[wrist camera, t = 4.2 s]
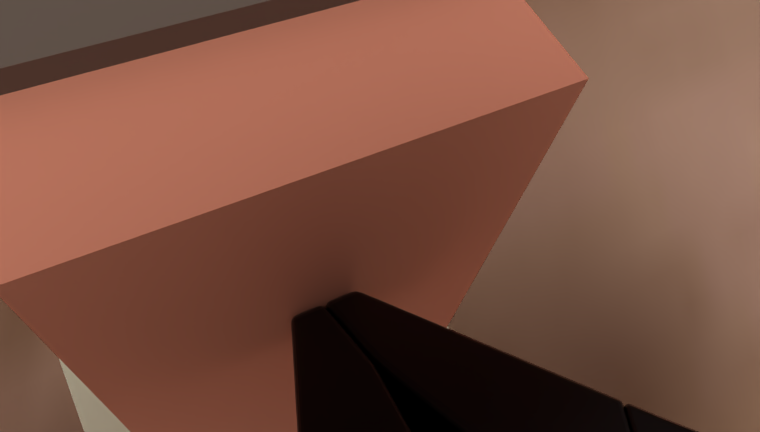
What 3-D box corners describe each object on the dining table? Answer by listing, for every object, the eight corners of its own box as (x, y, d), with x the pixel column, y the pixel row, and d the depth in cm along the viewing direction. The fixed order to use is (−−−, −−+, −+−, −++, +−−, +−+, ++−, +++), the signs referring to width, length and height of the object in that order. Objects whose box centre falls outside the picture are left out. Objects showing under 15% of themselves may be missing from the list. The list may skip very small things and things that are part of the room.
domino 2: (412, 387, 14) (588, 77, 6) (192, 494, 13) (-10, 287, 4) (380, 324, 15) (495, -36, 7) (165, 419, 14) (-54, 109, 5)
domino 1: (339, 230, 15) (509, -60, 6) (126, 313, 14) (-75, 87, 5) (312, 171, 16) (437, -192, 6) (101, 245, 14) (-134, -96, 5)
